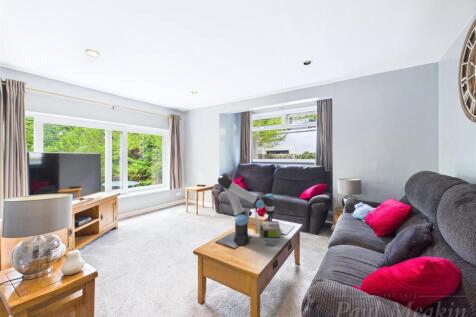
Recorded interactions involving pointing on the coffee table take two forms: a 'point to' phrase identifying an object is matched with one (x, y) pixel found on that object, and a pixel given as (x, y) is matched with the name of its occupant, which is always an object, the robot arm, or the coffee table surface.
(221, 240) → the coffee table surface
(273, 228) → the tea box
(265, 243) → the kerb
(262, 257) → the coffee table surface
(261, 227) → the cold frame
